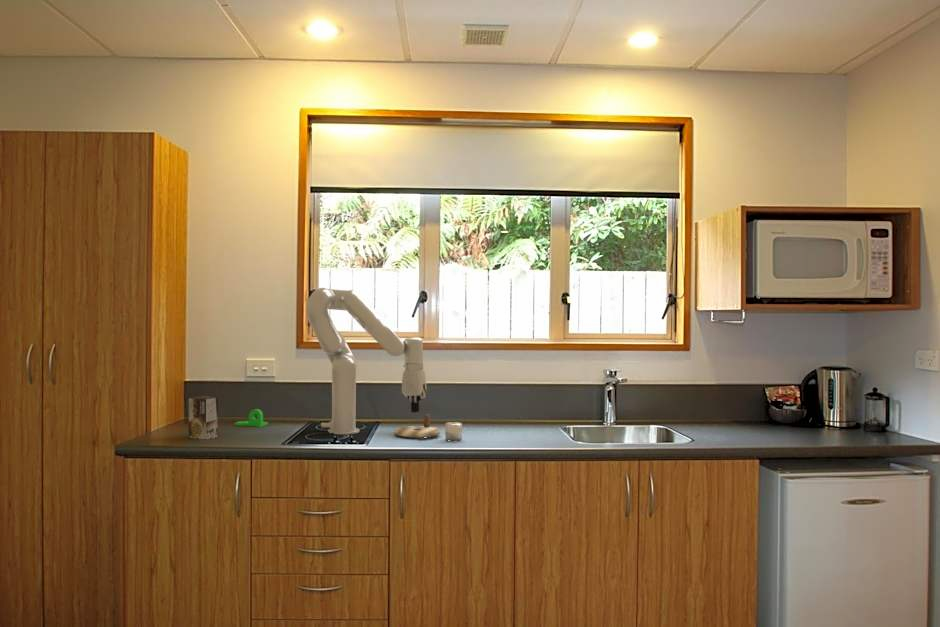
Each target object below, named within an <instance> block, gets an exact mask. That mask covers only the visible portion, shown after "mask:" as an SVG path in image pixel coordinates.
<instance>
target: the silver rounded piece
mask: <svg viewBox="0 0 940 627" xmlns="http://www.w3.org/2000/svg"><path fill="white" fill-rule="evenodd" d="M445 439H446V440H450V441H458V442H460V441H459V440H462V441H463V423H462V422H459V421H458V422H456V421H454V422H453V421H449V422H445V438H444V440H445ZM446 440H445V441H446ZM450 441H449V442H450Z"/></svg>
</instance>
